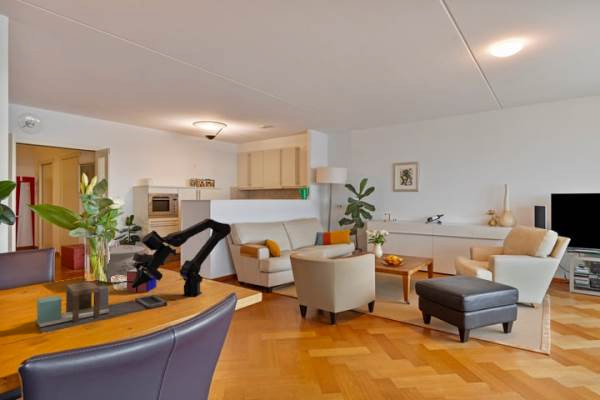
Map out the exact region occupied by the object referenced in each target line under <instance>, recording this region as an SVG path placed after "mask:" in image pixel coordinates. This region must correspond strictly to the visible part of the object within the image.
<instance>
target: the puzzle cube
mask: <svg viewBox="0 0 600 400" xmlns="http://www.w3.org/2000/svg"><path fill="white" fill-rule="evenodd" d="M136 276H137V270H136V268H134V269H132V270H130V271H127V281H126V292H127V293H149V292H150V291H152V290H153V289H155V288H157V280H156V278H155V277H154V276H153V277H152V279H153V280H150V281H148V282H145V283H143V284H141V285H140V286H138V287H136V288H132V287H131V286H132V284H133V282H134V280H135V278H136Z"/></svg>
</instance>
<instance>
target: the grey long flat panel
mask: <svg viewBox="0 0 600 400" xmlns="http://www.w3.org/2000/svg"><path fill="white" fill-rule="evenodd" d="M108 309H109V312H107V313H103V314H99V317H98V318H94V315H93V316H89V317H84V318H80V319H79V322H75V323H73V320H70V321H66V322H61V323H56V324H52V325H47V326H42V327H40V326H39V324H38V322H37V319H35V324H36V326H37V325H38V326H37V327H39V328H38V330H39V329H40V330H41V331H40V330H39V331H40V333H41V332H42V333H41V334H44V333H43V332H46V333H49V331H50V332H55V331H58V330H63V329H67V327H68V328H72V327H76V326H77V327H78V326H80V325H84V324H89V323H94V322H98V321H103V320H107V319H112V318H116V317H120V316H124V315H128V314H133V313H138V312H142V311H145V310H146V308H144V307H143V306H141V305H140V304H138V303H136V302H135V300H128V301H123V302H118V303H117V302H116V303H114V304H108Z"/></svg>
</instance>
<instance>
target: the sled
mask: <svg viewBox="0 0 600 400" xmlns="http://www.w3.org/2000/svg"><path fill="white" fill-rule="evenodd" d="M97 286H98V287H100V293H99V314H103V313H107V312H109V309H108V305H109V293H110V292H109V286H107V285H106V284H104V285H103V284H102V285H97ZM36 301H37V302H36V320H37V322H38V324H39V326H40V327H42V326H47V325H52V324H56V323H61V322H66V321H70V320H73V311H72V312H67V313H66V312H63V313H62V301H63V299H62V298H61V297H60V296H59V295H53V296H47V297H42V298H37V299H36ZM93 315H94V306H93V307H92V308H87V309H82V310H79V319H80V318H84V317H89V316H93Z"/></svg>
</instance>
